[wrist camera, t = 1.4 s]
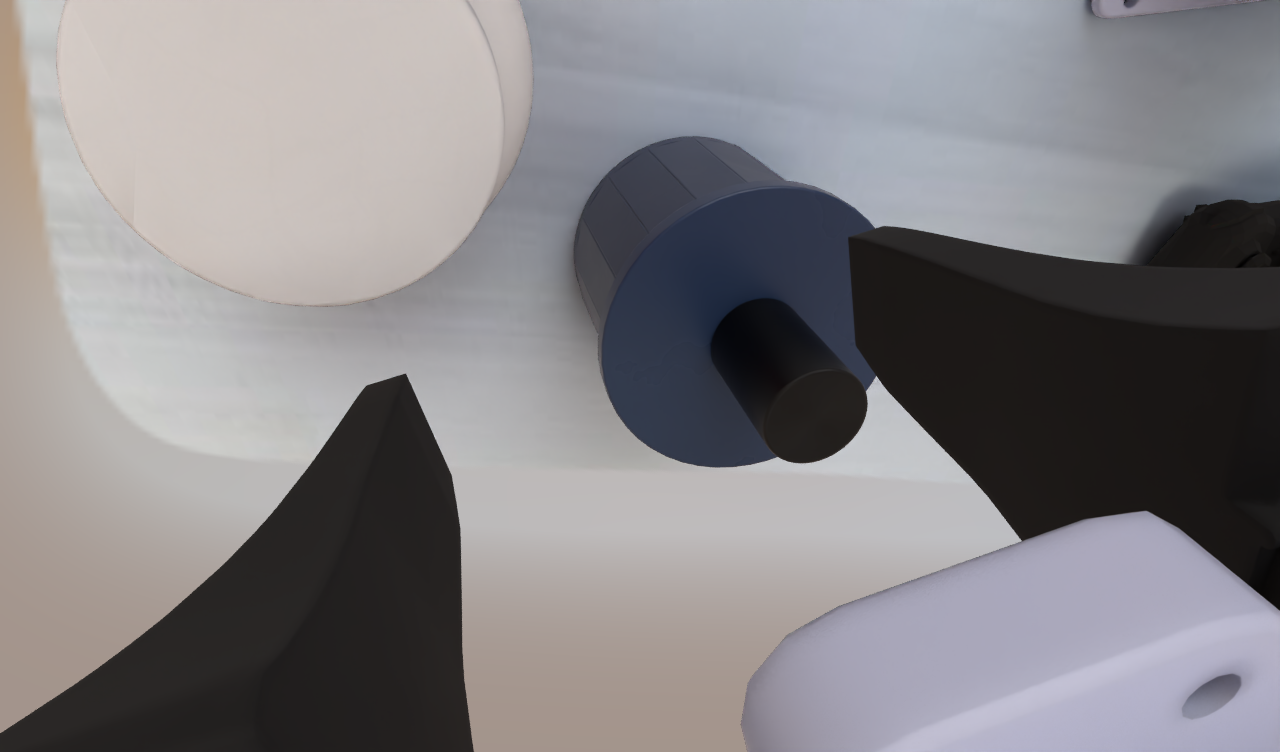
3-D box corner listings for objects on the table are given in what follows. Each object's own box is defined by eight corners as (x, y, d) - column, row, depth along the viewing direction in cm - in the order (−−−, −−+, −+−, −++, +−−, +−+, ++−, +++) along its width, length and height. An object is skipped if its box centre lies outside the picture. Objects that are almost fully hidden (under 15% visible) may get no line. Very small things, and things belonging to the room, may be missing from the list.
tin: (813, 155, 23) (913, 218, 18) (751, 352, 26) (823, 448, 21) (597, 117, 21) (649, 176, 16) (556, 335, 24) (590, 438, 19)
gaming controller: (1104, 364, 29) (1230, 353, 24) (1080, 232, 29) (1200, 194, 24) (1303, 328, 30) (1459, 311, 25) (1279, 203, 30) (1430, 162, 26)
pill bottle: (537, 78, 20) (646, 231, 11) (320, 191, 20) (239, 439, 11) (400, -206, 16) (383, -348, 7) (138, -69, 16) (-212, -34, 7)
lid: (920, 196, 19) (1045, 267, 15) (822, 448, 22) (905, 559, 18) (627, 146, 16) (689, 217, 13) (567, 437, 20) (603, 560, 16)
